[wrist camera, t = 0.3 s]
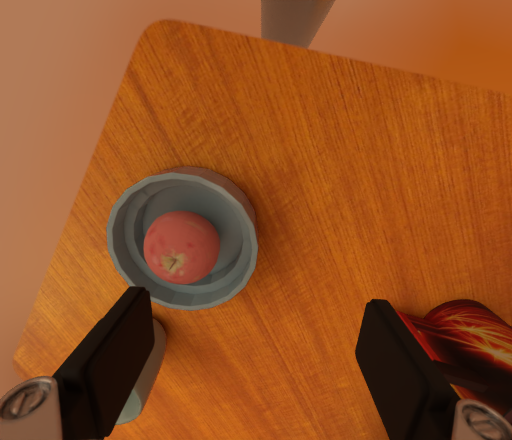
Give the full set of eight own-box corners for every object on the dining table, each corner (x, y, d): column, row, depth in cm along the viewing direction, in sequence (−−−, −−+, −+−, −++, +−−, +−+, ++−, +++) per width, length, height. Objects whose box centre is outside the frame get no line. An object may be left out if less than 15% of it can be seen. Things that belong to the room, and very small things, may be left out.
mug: (389, 304, 33) (454, 395, 22) (498, 296, 32) (625, 385, 21) (384, 359, 36) (440, 462, 25) (484, 353, 36) (587, 456, 24)
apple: (219, 264, 31) (206, 307, 24) (160, 253, 31) (127, 293, 23) (229, 208, 29) (217, 236, 21) (164, 195, 28) (129, 220, 21)
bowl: (128, 156, 27) (101, 162, 23) (266, 176, 28) (267, 185, 23) (133, 276, 33) (111, 301, 28) (249, 291, 33) (247, 317, 28)
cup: (181, 345, 36) (153, 421, 27) (131, 353, 37) (87, 430, 28) (162, 301, 34) (124, 368, 24) (109, 311, 34) (52, 379, 25)
